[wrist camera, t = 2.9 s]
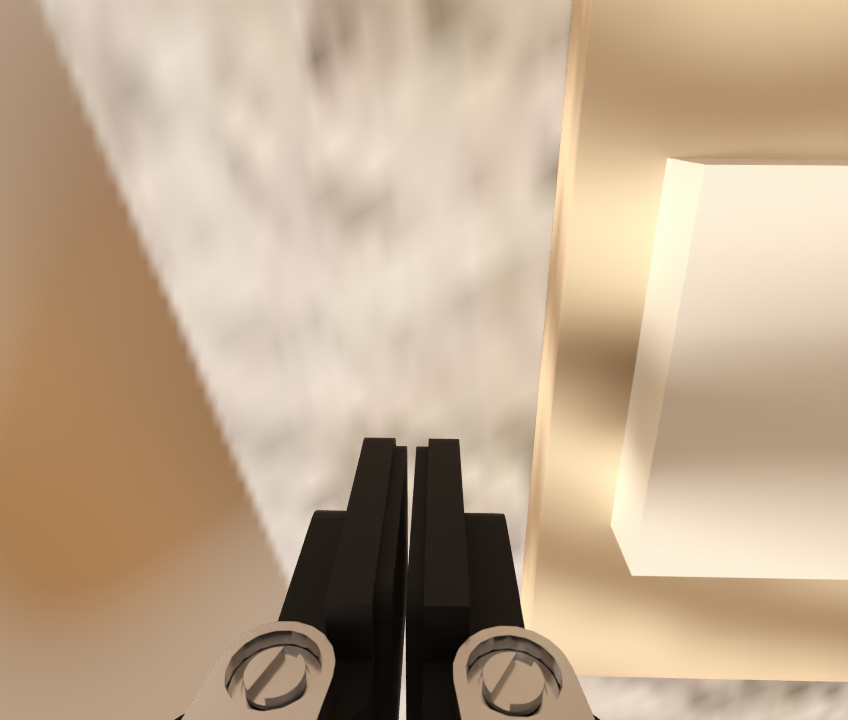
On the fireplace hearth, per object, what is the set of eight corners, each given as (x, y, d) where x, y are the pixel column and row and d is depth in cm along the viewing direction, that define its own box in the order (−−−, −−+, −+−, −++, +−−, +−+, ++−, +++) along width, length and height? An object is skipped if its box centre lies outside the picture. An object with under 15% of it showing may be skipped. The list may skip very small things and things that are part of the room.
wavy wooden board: (585, -144, 13) (610, -187, 11) (1252, -146, 12) (1394, -191, 11) (518, 625, 21) (525, 674, 19) (915, 633, 21) (961, 684, 19)
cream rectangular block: (667, 157, 13) (704, 164, 11) (941, 159, 13) (1025, 166, 11) (610, 525, 17) (631, 575, 15) (822, 529, 17) (869, 580, 15)
